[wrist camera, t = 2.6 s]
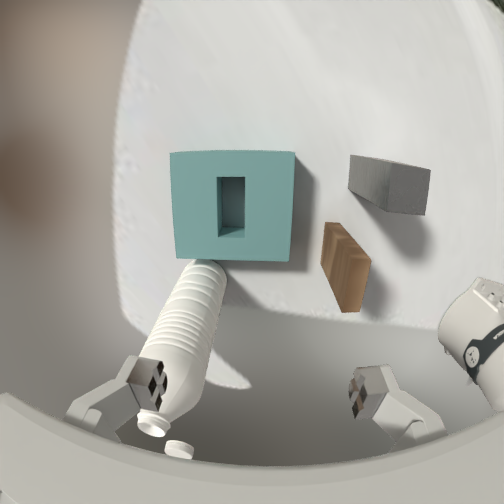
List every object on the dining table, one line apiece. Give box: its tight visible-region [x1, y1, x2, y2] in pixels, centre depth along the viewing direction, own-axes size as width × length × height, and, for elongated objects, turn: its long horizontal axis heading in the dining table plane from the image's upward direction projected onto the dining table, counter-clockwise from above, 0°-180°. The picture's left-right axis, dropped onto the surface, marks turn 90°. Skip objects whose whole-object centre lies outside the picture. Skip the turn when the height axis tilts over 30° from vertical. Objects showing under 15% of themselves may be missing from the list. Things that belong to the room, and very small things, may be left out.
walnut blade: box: [321, 222, 371, 313], centre depth 31 cm, size 2×6×12 cm, turn 179°
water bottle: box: [137, 259, 227, 459], centre depth 28 cm, size 9×6×25 cm
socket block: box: [170, 150, 295, 262], centre depth 33 cm, size 14×13×4 cm
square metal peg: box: [348, 155, 431, 216], centre depth 27 cm, size 4×4×12 cm
